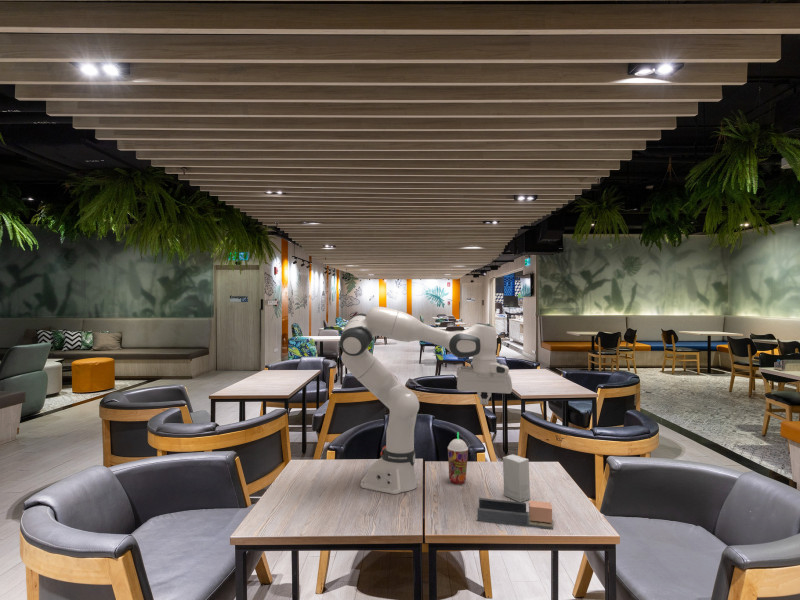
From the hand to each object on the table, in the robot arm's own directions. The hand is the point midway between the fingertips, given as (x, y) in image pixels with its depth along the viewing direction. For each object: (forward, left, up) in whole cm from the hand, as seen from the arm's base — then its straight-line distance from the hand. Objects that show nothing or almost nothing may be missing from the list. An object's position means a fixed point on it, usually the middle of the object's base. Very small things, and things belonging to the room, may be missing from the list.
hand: (484, 404), depth 170 cm
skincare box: (+12, +5, -35) cm, 38 cm away
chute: (+11, -13, -35) cm, 39 cm away
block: (+19, -13, -35) cm, 42 cm away
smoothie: (-11, +15, -35) cm, 40 cm away
